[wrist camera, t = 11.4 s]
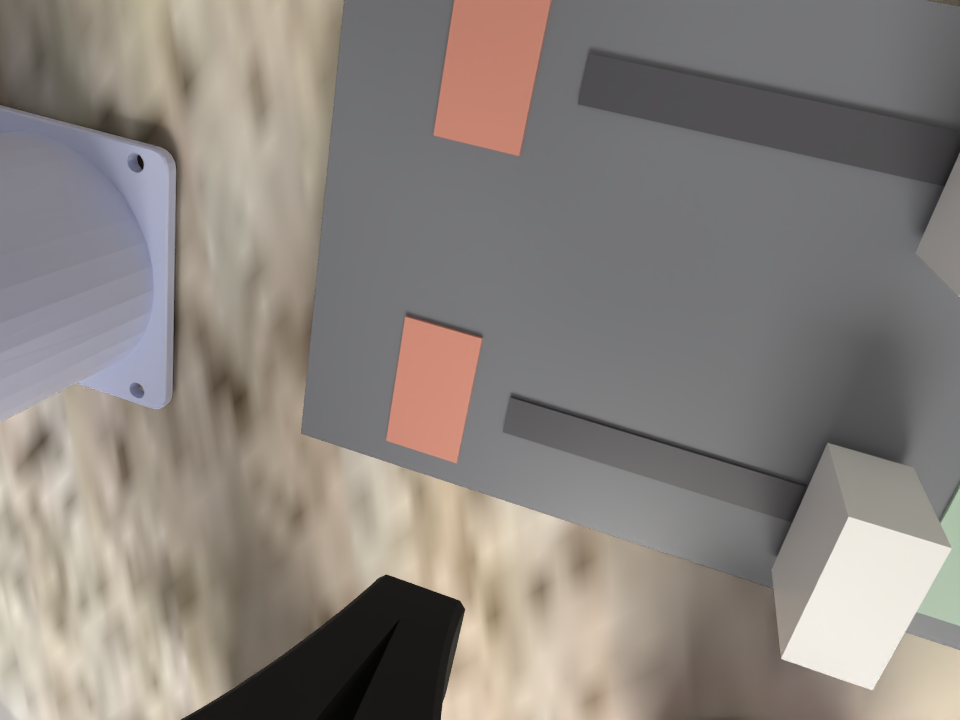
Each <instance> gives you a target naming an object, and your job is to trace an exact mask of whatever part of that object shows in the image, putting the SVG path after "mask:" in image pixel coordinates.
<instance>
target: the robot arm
mask: <svg viewBox="0 0 960 720" xmlns="http://www.w3.org/2000/svg"><path fill="white" fill-rule="evenodd" d="M138 155H140V156H141V158H142V159H143V162H144V168H143V169H141V167H140V166H139V164H138V161H137V157H138ZM175 209H176V165H175V161H174V159H173V157H172V155H171V154H170V153H169V152H168V151H167V150H165V149H163V148H161V147H158V146H155V145H151V144H147V143H143V142H139V141H135V140H132V139H128V138H124V137H120V136H116V135H113V134H109V133H105V132H101V131H97V130H93V129H90V128H86V127H82V126H78V125H74V124H71V123H67V122H63V121H59V120H55V119H52V118H48V117H44V116H40V115H36V114H32V113H29V112H25V111H21V110H17V109H13V108H10V107H6V106H2V105H0V422H2V421H4V420H6V419H8V418H10V417H12V416H14V415H16V414H18V413H20V412H22V411H24V410H26V409H28V408H29V407H31V406H33V405H35V404H37V403H39V402H41V401H43V400H45V399H47V398H49V397H51V396H53V395H55V394H57V393H59V392H61V391H63V390H65V389H67V388H69V387H70V386H72V385H74V384H76V383H77V384H80V385H83V386H86V387H89V388H92V389H95V390H98V391H101V392H104V393H107V394H110V395H113V396H116V397H119V398H122V399H125V400H128V401H131V402H134V403H137V404H140V405H143V406H146V407H149V408H152V409H160V408H162V407H164V406H166V405H167V404H168V403H169V402H170V401H171V399H172V389H173V329H174V269H175ZM138 384H140V385H141V386H142V388H143V389H144V392H143V391H142V390H141V389H140V388H139V385H138ZM464 612H465V608H464V607H463V605H462V603H461V602H460V601H459V600H456V599H453V598H451V597H448V596H445V595H442V594H440V593H437V592H434V591H431V590H428V589H426V588H423V587H420V586H417V585H414V584H412V583H409V582H406V581H403V580H400V579H398V578H395V577H392V576H389V575H385V576H382V577H380V578H378V579H377V580H376V581H375V582H374V583H373V584H372V585H371V586H369V587H368V588H367V589H366V590H365V591H364V592H363V593H361V594H360V595H359V596H358V597H357V598H356V599H354V600H353V601H352V602H351V603H350V604H349V605H347V606H346V607H345V608H344V609H343V610H341V611H340V612H339V613H338V614H336V615H335V616H334V617H333V618H331V619H330V620H329V621H328V622H326V623H325V624H324V625H323V626H321V627H320V628H319V629H317V630H316V631H315V632H313V633H312V634H311V635H309V636H308V637H307V638H305V639H304V640H303V641H301V642H300V643H299V644H297V645H296V646H295V647H293V648H292V649H290V650H289V651H288V652H286V653H285V654H284V655H282V656H281V657H279V658H278V659H277V660H275V661H274V662H272V663H271V664H269V665H268V666H266V667H265V668H263V669H262V670H260V671H259V672H257V673H256V674H254V675H253V676H251V677H250V678H248V679H247V680H245V681H244V682H242V683H241V684H239V685H238V686H236V687H235V688H233V689H232V690H230V691H229V692H227V693H225V694H224V695H222V696H220V697H219V698H217V699H216V700H214V701H212V702H211V703H209V704H207V705H206V706H204V707H202V708H201V709H199V710H197V711H195V712H194V713H192V714H190V715H188V716H187V717H185V718H183V719H181V720H441V711H442V703H443V700H444V697H445V694H446V690H447V686H448V681H449V677H450V673H451V668H452V664H453V660H454V655H455V651H456V647H457V642H458V638H459V634H460V629H461V625H462V621H463V616H464Z"/></svg>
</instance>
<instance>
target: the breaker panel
mask: <svg viewBox="0 0 960 720" xmlns="http://www.w3.org/2000/svg"><path fill="white" fill-rule="evenodd" d="M959 153H960V6H956V5H950V4H945V3H939V2H934V1H928V0H344V7H343V17H342V27H341V37H340V47H339V57H338V67H337V77H336V87H335V97H334V108H333V118H332V128H331V138H330V148H329V158H328V168H327V178H326V188H325V198H324V208H323V218H322V228H321V238H320V248H319V258H318V268H317V278H316V288H315V298H314V308H313V318H312V328H311V338H310V348H309V358H308V368H307V378H306V388H305V398H304V409H303V419H302V429H301V434H304V435H307V436H310V437H313V438H316V439H319V440H322V441H325V442H328V443H331V444H334V445H337V446H340V447H343V448H346V449H350V450H353V451H356V452H359V453H362V454H365V455H368V456H371V457H374V458H377V459H380V460H383V461H386V462H389V463H392V464H395V465H398V466H401V467H404V468H407V469H410V470H413V471H416V472H420V473H423V474H426V475H429V476H432V477H435V478H438V479H441V480H444V481H447V482H450V483H453V484H456V485H459V486H462V487H465V488H468V489H471V490H474V491H477V492H480V493H483V494H486V495H489V496H493V497H496V498H499V499H502V500H505V501H508V502H511V503H514V504H517V505H520V506H523V507H526V508H529V509H532V510H535V511H538V512H541V513H544V514H547V515H550V516H553V517H556V518H559V519H563V520H566V521H569V522H572V523H575V524H578V525H581V526H584V527H587V528H590V529H593V530H596V531H599V532H602V533H605V534H608V535H611V536H614V537H617V538H620V539H623V540H626V541H629V542H632V543H636V544H639V545H642V546H645V547H648V548H651V549H654V550H657V551H660V552H663V553H666V554H669V555H672V556H675V557H678V558H681V559H684V560H687V561H690V562H693V563H696V564H699V565H702V566H706V567H709V568H712V569H715V570H718V571H721V572H724V573H727V574H730V575H733V576H736V577H739V578H742V579H745V580H748V581H751V582H754V583H757V584H760V585H763V586H766V587H769V588H772V589H773V580H772V571H771V570H772V568H773V565H774V563H775V561H776V559H777V556H778V554H779V552H780V549H781V547H782V545H783V543H784V540H785V538H786V536H787V534H788V531H789V529H790V527H791V524H792V522H793V520H794V518H795V515H796V513H797V511H798V509H799V506H800V504H801V502H802V499H803V497H804V495H805V493H806V490H807V488H808V486H809V484H810V481H811V479H812V477H813V475H814V472H815V470H816V468H817V465H818V463H819V461H820V459H821V456H822V454H823V452H824V450H825V447H826V445H827V443H830V444H834V445H837V446H841V447H844V448H848V449H851V450H855V451H858V452H861V453H865V454H868V455H872V456H875V457H879V458H882V459H886V460H889V461H892V462H896V463H899V464H903V465H906V466H910V467H913V468H914V470H915V472H916V474H917V476H918V478H919V480H920V482H921V485H922V487H923V489H924V491H925V493H926V495H927V497H928V499H929V501H930V503H931V505H932V508H933V510H934V512H935V514H936V516H937V518H938V520H939V522H940V524H941V526H942V529H943V531H944V533H945V535H946V537H947V539H948V541H949V543H950V545H951V547H952V549H951V551H950V553H949V554H948V556H947V558H946V560H945V562H944V563H943V565H942V567H941V569H940V571H939V572H938V574H937V576H936V578H935V580H934V581H933V583H932V585H931V587H930V588H929V590H928V592H927V594H926V596H925V597H924V599H923V601H922V603H921V605H920V606H919V608H918V610H917V612H916V614H915V615H914V617H913V619H912V621H911V622H910V624H909V626H908V628H907V630H906V631H905V632H906V633H909V634H912V635H915V636H918V637H922V638H925V639H928V640H931V641H934V642H937V643H940V644H943V645H946V646H949V647H952V648H955V649H958V650H960V297H959V296H958V295H957V294H956V293H955V292H954V291H953V290H952V289H951V288H950V287H949V286H948V285H947V284H946V283H945V282H944V281H943V280H942V279H941V278H940V277H939V276H938V275H937V274H936V273H935V272H934V271H933V270H932V269H931V268H930V267H929V266H928V265H927V264H926V263H925V262H924V261H923V260H922V259H921V258H920V257H919V256H918V255H917V254H916V250H917V248H918V246H919V244H920V241H921V239H922V237H923V235H924V232H925V230H926V228H927V226H928V223H929V221H930V219H931V216H932V214H933V212H934V210H935V207H936V205H937V203H938V201H939V198H940V196H941V194H942V192H943V189H944V187H945V185H946V183H947V180H948V178H949V176H950V174H951V171H952V169H953V167H954V165H955V162H956V160H957V158H958V155H959Z"/></svg>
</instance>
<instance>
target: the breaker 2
mask: <svg viewBox="0 0 960 720" xmlns="http://www.w3.org/2000/svg"><path fill="white" fill-rule="evenodd" d="M916 254H917V255H918V256H919V257H920V258H921V259H922V260H923V261H924V262H925V263H926V264H927V265H928V266H929V267H930V268H931V269H932V270H933V271H934V272H935V273H936V274H937V275H938V276H939V277H940V278H941V279H942V280H943V281H944V282H945V283H946V284H947V285H948V286H949V287H950V288H951V289H952V290H953V291H954V292H955V293H956V294H957V295H958V296H959V297H960V153H959V155H958V158H957V160H956V162H955V165H954V167H953V169H952V171H951V174H950V176H949V178H948V180H947V183H946V185H945V187H944V189H943V192H942V194H941V196H940V198H939V201H938V203H937V205H936V207H935V210H934V212H933V214H932V216H931V219H930V221H929V223H928V226H927V228H926V230H925V232H924V235H923V237H922V239H921V241H920V244H919V246H918V248H917V250H916Z"/></svg>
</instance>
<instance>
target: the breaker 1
mask: <svg viewBox="0 0 960 720" xmlns="http://www.w3.org/2000/svg"><path fill="white" fill-rule="evenodd" d="M951 549H952V547H951V545H950V543H949V541H948V539H947V537H946V535H945V533H944V531H943V529H942V526H941V524H940V522H939V520H938V518H937V516H936V514H935V512H934V510H933V508H932V505H931V503H930V501H929V499H928V497H927V495H926V493H925V491H924V489H923V487H922V485H921V482H920V480H919V478H918V476H917V474H916V472H915V470H914V468H913V467H910V466H906V465H903V464H899V463H896V462H892V461H889V460H886V459H882V458H879V457H875V456H872V455H868V454H865V453H861V452H858V451H855V450H851V449H848V448H844V447H841V446H837V445H834V444H830V443H827V445H826V447H825V450H824V452H823V454H822V456H821V459H820V461H819V463H818V465H817V468H816V470H815V472H814V475H813V477H812V479H811V481H810V484H809V486H808V488H807V490H806V493H805V495H804V497H803V499H802V502H801V504H800V506H799V509H798V511H797V513H796V515H795V518H794V520H793V522H792V524H791V527H790V529H789V531H788V534H787V536H786V538H785V540H784V543H783V545H782V547H781V549H780V552H779V554H778V556H777V559H776V561H775V563H774V565H773V568H772V570H771V571H772V580H773V589H774V599H775V608H776V617H777V627H778V636H779V646H780V655H781V659H783V660H785V661H788V662H791V663H794V664H797V665H800V666H803V667H806V668H809V669H812V670H814V671H817V672H820V673H823V674H826V675H829V676H832V677H835V678H838V679H841V680H843V681H846V682H849V683H852V684H855V685H858V686H861V687H864V688H867V689H870V690H873V689H874V687H875V685H876V683H877V682H878V680H879V678H880V676H881V674H882V673H883V671H884V669H885V667H886V665H887V664H888V662H889V660H890V658H891V656H892V655H893V653H894V651H895V649H896V648H897V646H898V644H899V642H900V640H901V639H902V637H903V635H904V633H905V631H906V630H907V628H908V626H909V624H910V622H911V621H912V619H913V617H914V615H915V614H916V612H917V610H918V608H919V606H920V605H921V603H922V601H923V599H924V597H925V596H926V594H927V592H928V590H929V588H930V587H931V585H932V583H933V581H934V580H935V578H936V576H937V574H938V572H939V571H940V569H941V567H942V565H943V563H944V562H945V560H946V558H947V556H948V554H949V553H950V551H951Z"/></svg>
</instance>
